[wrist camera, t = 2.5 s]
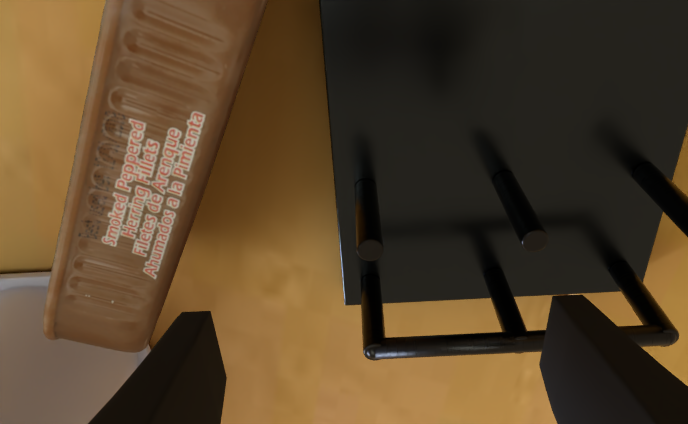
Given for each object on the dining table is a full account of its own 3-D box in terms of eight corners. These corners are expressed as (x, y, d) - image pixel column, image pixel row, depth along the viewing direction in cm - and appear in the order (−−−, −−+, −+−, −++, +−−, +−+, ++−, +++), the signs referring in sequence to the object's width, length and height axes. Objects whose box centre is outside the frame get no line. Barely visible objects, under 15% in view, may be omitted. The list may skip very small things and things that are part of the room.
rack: (344, 290, 23) (345, 382, 19) (290, -370, 13) (264, -485, 9) (629, 275, 23) (694, 366, 19) (816, -417, 12) (1057, -561, 8)
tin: (227, -223, 14) (114, -313, 7) (338, -163, 15) (336, -191, 8) (112, 222, 22) (0, 397, 14) (191, 248, 22) (120, 428, 15)
